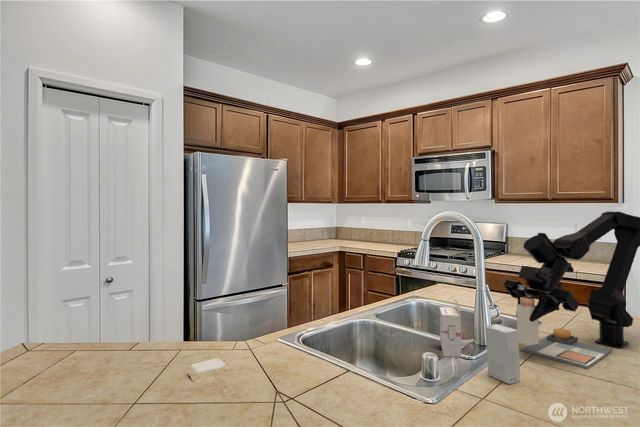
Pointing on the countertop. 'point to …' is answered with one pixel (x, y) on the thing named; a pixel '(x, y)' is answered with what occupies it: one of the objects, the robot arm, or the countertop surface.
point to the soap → (207, 365)
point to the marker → (527, 322)
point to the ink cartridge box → (450, 331)
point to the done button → (562, 333)
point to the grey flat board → (568, 351)
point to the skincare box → (503, 353)
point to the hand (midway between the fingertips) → (523, 318)
